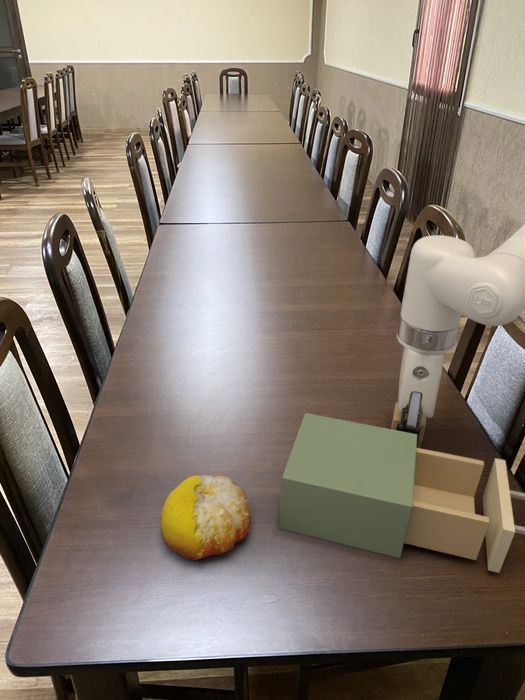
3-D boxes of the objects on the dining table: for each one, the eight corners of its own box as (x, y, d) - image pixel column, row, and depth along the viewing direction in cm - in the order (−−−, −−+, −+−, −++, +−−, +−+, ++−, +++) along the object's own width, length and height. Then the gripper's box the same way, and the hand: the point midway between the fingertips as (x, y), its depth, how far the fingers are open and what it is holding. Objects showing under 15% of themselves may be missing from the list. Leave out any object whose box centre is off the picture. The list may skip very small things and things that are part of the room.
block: (421, 430, 82) (426, 407, 80) (420, 449, 79) (425, 425, 76) (391, 425, 83) (395, 401, 81) (389, 443, 80) (393, 419, 77)
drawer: (539, 509, 68) (555, 470, 65) (554, 586, 59) (574, 545, 55) (386, 476, 72) (393, 438, 69) (377, 543, 63) (385, 502, 60)
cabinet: (406, 483, 73) (417, 434, 68) (400, 558, 62) (412, 506, 58) (301, 460, 76) (305, 412, 72) (278, 528, 66) (281, 477, 61)
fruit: (232, 581, 59) (210, 528, 56) (156, 567, 64) (132, 517, 60) (270, 507, 68) (253, 458, 64) (201, 500, 73) (182, 453, 69)
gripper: (457, 368, 64) (430, 480, 73) (455, 307, 77) (432, 408, 87) (393, 357, 65) (374, 469, 75) (402, 300, 79) (385, 399, 89)
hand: (405, 435), depth 81 cm, fingers closed on block, 4 cm apart
